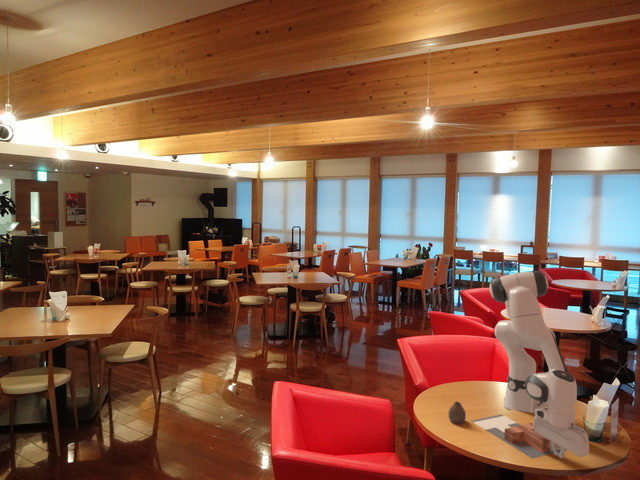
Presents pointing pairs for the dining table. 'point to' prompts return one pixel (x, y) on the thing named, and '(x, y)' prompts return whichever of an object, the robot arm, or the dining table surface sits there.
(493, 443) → the dining table surface
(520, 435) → the t block
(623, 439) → the dining table surface
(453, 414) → the vase
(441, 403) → the dining table surface
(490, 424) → the board
